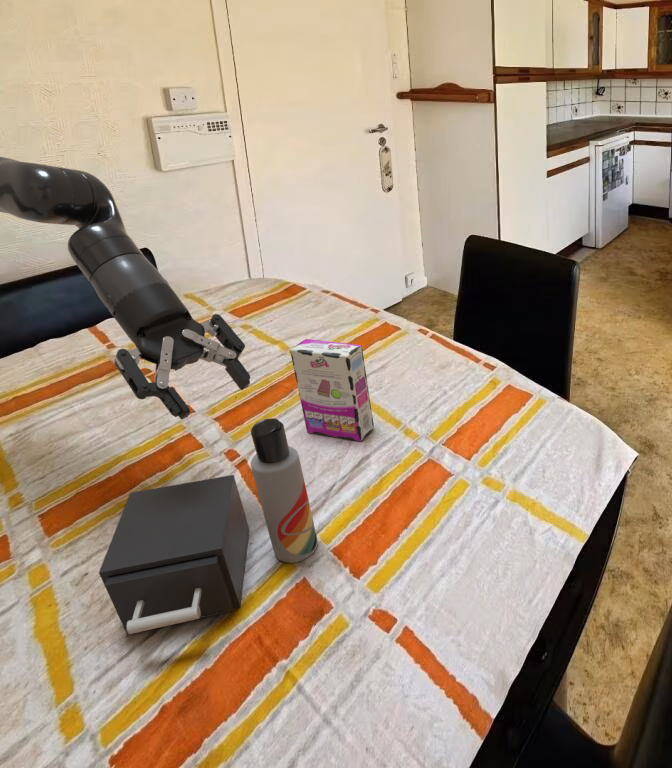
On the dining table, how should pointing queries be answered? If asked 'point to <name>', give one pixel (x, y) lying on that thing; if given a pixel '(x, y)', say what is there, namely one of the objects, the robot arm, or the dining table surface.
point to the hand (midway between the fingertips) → (217, 400)
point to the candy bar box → (333, 388)
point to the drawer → (169, 594)
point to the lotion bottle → (282, 492)
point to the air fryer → (182, 530)
